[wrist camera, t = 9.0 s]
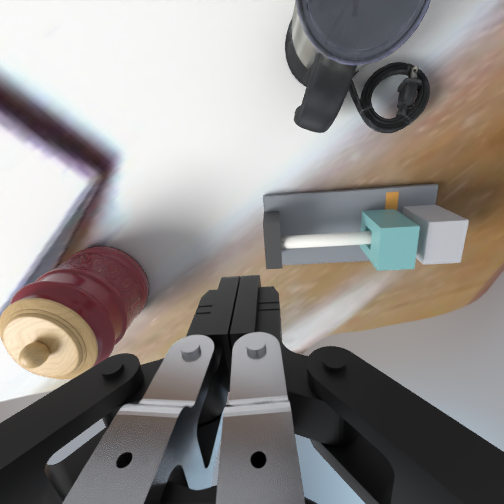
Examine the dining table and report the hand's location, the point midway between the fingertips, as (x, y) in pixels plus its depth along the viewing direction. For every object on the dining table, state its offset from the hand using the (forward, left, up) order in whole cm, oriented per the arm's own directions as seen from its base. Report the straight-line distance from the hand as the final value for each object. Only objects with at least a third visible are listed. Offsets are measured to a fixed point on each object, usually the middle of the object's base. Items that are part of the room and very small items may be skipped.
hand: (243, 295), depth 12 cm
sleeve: (+7, +14, -28) cm, 32 cm away
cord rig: (+7, +11, -30) cm, 32 cm away
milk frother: (-12, +11, -30) cm, 34 cm away
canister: (+14, -25, -30) cm, 41 cm away
